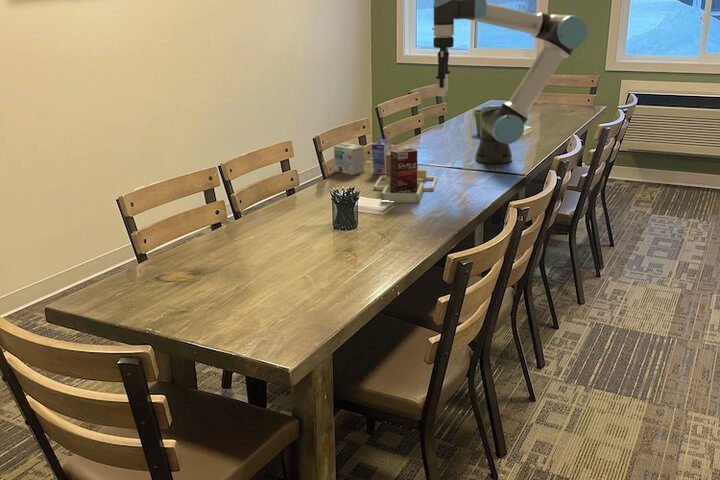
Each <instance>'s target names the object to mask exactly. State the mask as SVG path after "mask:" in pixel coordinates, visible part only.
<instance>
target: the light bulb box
mask: <svg viewBox="0 0 720 480" xmlns="http://www.w3.org/2000/svg"><path fill="white" fill-rule="evenodd" d="M333 149H334V150H333V151H334V152H333V153H334V171H335V172H338V173H343V174H346V175H351V176H354V175H358V174H361V173H364V172H365V169H364V168H365V166H364V165H365V164H364V162H365V161H364V145H360V144H359V145H358V144H354V143H353V144H352V143H347V142H343V143H339V144H336V145H334V147H333Z"/></svg>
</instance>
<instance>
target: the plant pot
mask: <svg viewBox="0 0 720 480" xmlns="http://www.w3.org/2000/svg"><path fill="white" fill-rule="evenodd" d="M472 112H473V115H474V120H475V126H476V133H477V134H478V135H480V127H481V115H480V113H481V108H480V109H474V110H473V111H472Z"/></svg>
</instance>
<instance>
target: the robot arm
mask: <svg viewBox="0 0 720 480" xmlns="http://www.w3.org/2000/svg"><path fill="white" fill-rule="evenodd" d="M455 20H469V21H474V22H478V23H483V24H486V25H492V26H496V27H500V28H504V29H507V30H513V31H517V32H522V33H525V34H529V35H531V37H532V38H535V39H538V40H542V42H543V43H542V44H543V48H542V50H540V53H539V54H538V56H537V57H536V59H535V60H534V62H533V63H532V65H531V66H530V68H529V69H528V71H527V73H526V74H525V76H524V77H523V79H522V81H521V82H520V83H519V85H518V86H517V88H516V89H515V91H514V92H513V94H512V96H511V97H510V99H509V100H508V101H506V102H505V101H504V102H503V103H502V104H492V105H484V106H482V107H481V108H480V109H481V113H480V115H481V127H480V134H479V135H480V137H479V144H478V147H477V148H476V149H477V150H476V153H475V156H474V157H475V161H476V162H478V163H483V164H490V165H491V164H492V165H494V164H495V165H497V164H507V163H510V162H511V161H512V159H513V154H512V150H511V147H510V146H511V145H510V144H514V143H516V142H517V141H518V140H520V139H521V137H522V136H523V135H524V130H525V126H524V125H525V124H526V123H527V121H528V120H529V115H528V112H529V111H530V109H531V108H532V106H533V105H534V104H535V102H536V101H537V100H538V98H539V96H540V94H541V93H542V91H543V90H544V88H545V87H546V85H547V84H548V82H549V81H550V80H551V77H552V76H553V75H554V74H555V72H556V70H557V68H558V67H559V66H560V64H561V62H562V61H563V60H564V59H567V58H569V57H570V56H571V55H572V53H573V52H574V51H575V49H577V48H579V47H580V46H582V45H583V44H584V43H585V41H586V39H587V37H588V26H587V23H586V22H585V21H584V19H583V18H581V17H580V16H578V15H575V14H564V13H562V14H561V13H560V14H559V13H558V14H555V13H553V14H552V13H544V12H538V13H531V12H527V11H524V10H523V11H522V10H520V9H519V10H518V9H514V8H511V7H506V6H503V5H498V4H494V3H489V2H487V0H433V27H432V28H431V30H432V31H433V36H434V37H433V47H434V48H436V49H439V50H438V52H437V58H438V59H437V64H438V66H437V69H438V70H437V76H435V79H436V80H437V97H446V92H448V91H449V75H450V73H451V71H449V57H450V52H449V49H450V48H454V40H455V39H454V35H455Z"/></svg>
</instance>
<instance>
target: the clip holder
mask: <svg viewBox="0 0 720 480" xmlns="http://www.w3.org/2000/svg"><path fill="white" fill-rule="evenodd" d="M383 180H385V185H380V184H381V182H382V181H383ZM425 181H426V182H427V181H432V184H431V186H423V192H434V190H435V186H436V184H437V181H438V176H436V175H435V176H434V175H433V176H432V175H431V176H428V175H427V169H417V182H420V183H423V184H424V182H425ZM388 182H391V177H386V175H383V174H380V176H379V178H378V179H377V180H376V182H375V184H374V185H373V191H383V190H384V188H385V186H386V184H387V183H388Z"/></svg>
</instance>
